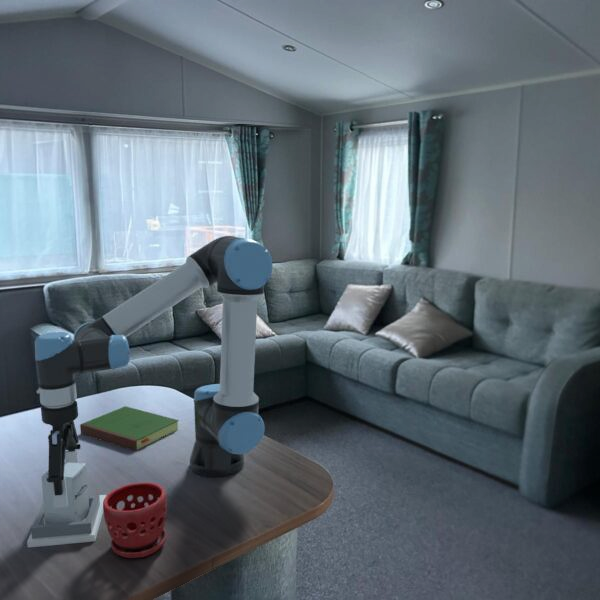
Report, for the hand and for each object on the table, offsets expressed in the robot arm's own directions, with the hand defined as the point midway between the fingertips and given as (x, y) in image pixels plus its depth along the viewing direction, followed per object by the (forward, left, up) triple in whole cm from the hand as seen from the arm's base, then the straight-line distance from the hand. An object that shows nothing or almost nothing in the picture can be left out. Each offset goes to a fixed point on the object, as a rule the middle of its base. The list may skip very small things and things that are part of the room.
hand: (67, 491), depth 136 cm
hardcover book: (-8, -54, -9) cm, 55 cm away
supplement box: (0, 0, -7) cm, 8 cm away
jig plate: (0, -2, -9) cm, 9 cm away
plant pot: (-16, +11, -9) cm, 21 cm away
